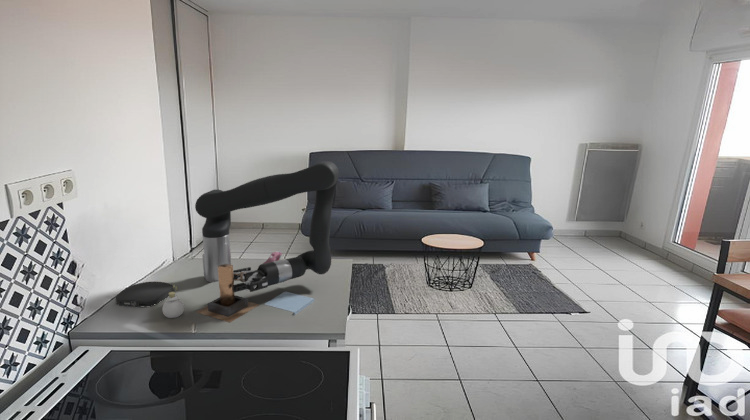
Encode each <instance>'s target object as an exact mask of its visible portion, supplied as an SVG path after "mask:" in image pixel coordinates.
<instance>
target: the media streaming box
mask: <svg viewBox="0 0 750 420" xmlns="http://www.w3.org/2000/svg"><path fill="white" fill-rule="evenodd" d="M173 286H174V284H172V283H169V282H163V281H144V282H140V283H139V282H138V283H135V284H132V285H130V286H127V287H126V288H124V289H123V290H121V291H120V292H119V293H118V294H117V295H115V301H116V305H118V304H119V305H118V306H122V305H126V306H125V307H132V306H150V307H152V306H151V305H154V304H157V303H159V302H160V301H162V300H163V301H164V300H166V299H167V298H168V296H169V293H170V292H175V290H174V289H175V286H174V287H173ZM165 298H166V299H165ZM163 301H162V302H163ZM160 303H161V302H160ZM160 303H159V304H160ZM127 305H128V306H127ZM157 305H158V304H157ZM154 306H155V305H154Z"/></svg>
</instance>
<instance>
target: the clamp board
mask: <svg viewBox="0 0 750 420" xmlns="http://www.w3.org/2000/svg"><path fill="white" fill-rule="evenodd" d="M259 306H260V304H259V303H254V302H251V301H249V300H248V298H247V297H242V296H241V295H240V296H239V295H236V294H235V303H234V304H232V305H231V306H229V307H226V306H223V305H221V303H220V296H219V297H217V298H215V299H214V300H211V301H210V302H208V303H207V305H206V306H205V307H203V308H201V309H199V310H196V313H198V314H200V315H204V316H208V317H211V318H214V319H218V320H221V321H223V322H227V323H232V322H233V321H235V320H237V319H239V318H240V317H242V316H243V315H244V316H245V314H247V313H249V312H250V311H252V310H253V309H255V308H257V307H259Z"/></svg>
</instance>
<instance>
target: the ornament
mask: <svg viewBox="0 0 750 420" xmlns="http://www.w3.org/2000/svg"><path fill="white" fill-rule="evenodd" d="M173 287H174V289H175V290H174V292H170V293H169V297H167V298H166V299H165V300H166V301H165V302H164V303H163V305H162V313H163V316H165V317H166V318H169V319H175V318H178V317H180V316H182V315H183V313H184V311H185V304H184V302H183V301H182V300H181V299H179V296H178V295H176V292H177V291H178V287H177V286H175V285H173ZM175 291H176V292H175Z"/></svg>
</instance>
